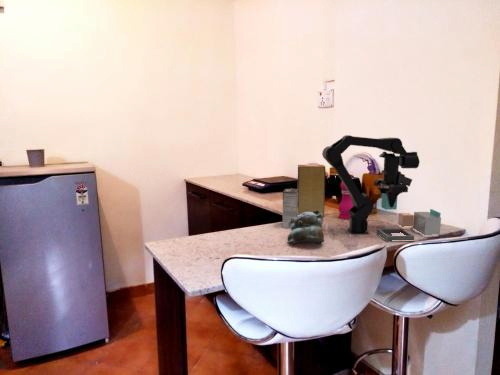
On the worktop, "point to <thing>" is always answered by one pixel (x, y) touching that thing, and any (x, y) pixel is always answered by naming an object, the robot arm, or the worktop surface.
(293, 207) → the coffee box
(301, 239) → the grey-green lumpy figure
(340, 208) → the pepper mill
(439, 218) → the panel
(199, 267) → the worktop surface
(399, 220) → the terracotta block
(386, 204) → the teal block
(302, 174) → the food packaging
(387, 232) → the parts tray
